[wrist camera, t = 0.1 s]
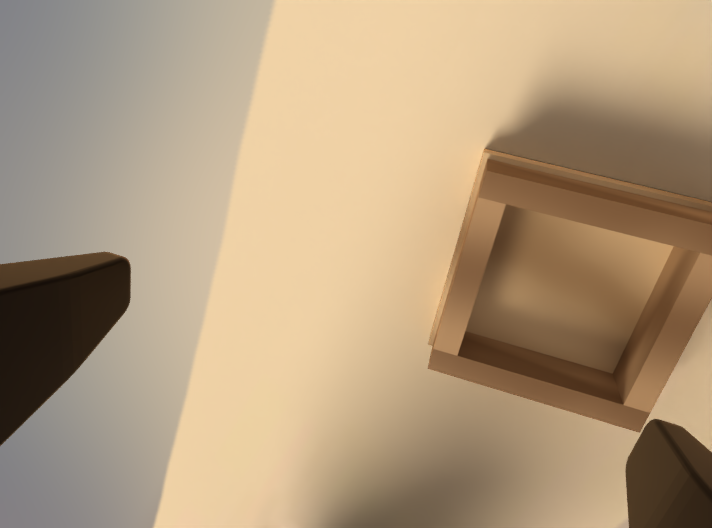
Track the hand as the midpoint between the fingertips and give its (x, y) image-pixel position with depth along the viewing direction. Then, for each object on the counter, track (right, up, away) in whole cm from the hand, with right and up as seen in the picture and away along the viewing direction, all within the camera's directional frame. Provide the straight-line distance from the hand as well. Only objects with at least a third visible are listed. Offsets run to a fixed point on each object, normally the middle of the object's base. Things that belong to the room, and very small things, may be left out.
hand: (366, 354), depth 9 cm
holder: (+8, +1, +14) cm, 16 cm away
